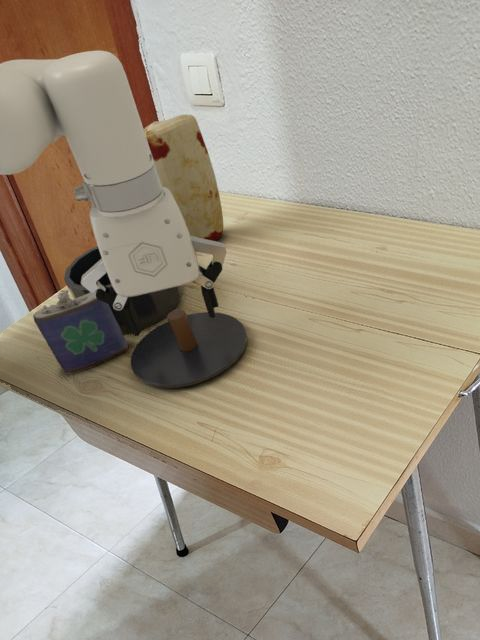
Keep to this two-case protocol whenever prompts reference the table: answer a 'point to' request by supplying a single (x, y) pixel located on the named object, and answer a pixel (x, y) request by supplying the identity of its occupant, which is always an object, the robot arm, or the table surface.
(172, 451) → the table surface
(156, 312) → the pan
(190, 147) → the food model
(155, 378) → the pan lid
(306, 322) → the table surface
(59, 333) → the flask
